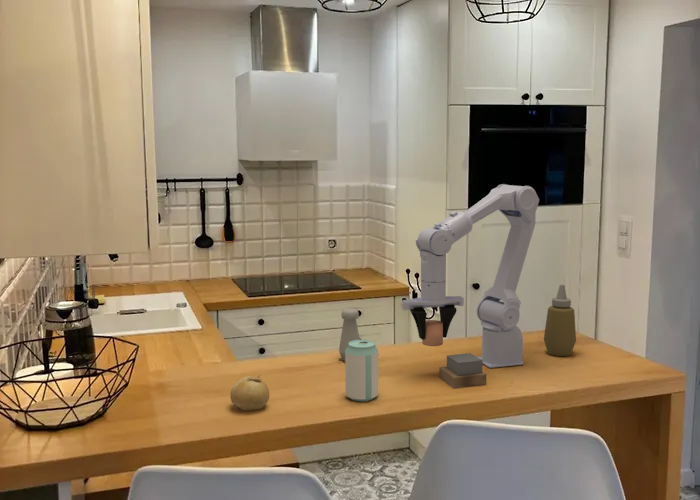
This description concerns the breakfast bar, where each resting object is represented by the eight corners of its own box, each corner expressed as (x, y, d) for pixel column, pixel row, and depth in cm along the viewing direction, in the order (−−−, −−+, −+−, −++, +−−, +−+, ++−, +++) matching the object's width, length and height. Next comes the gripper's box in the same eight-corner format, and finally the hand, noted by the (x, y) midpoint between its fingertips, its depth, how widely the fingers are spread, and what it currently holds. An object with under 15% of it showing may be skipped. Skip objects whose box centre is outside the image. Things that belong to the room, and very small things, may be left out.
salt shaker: (362, 356, 183) (362, 306, 181) (361, 363, 177) (360, 312, 175) (340, 355, 183) (339, 306, 181) (337, 362, 178) (337, 311, 176)
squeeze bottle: (579, 351, 186) (582, 284, 183) (570, 360, 179) (573, 289, 176) (548, 347, 190) (550, 280, 187) (539, 355, 183) (541, 286, 180)
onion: (233, 416, 144) (232, 382, 143) (228, 402, 151) (227, 370, 150) (272, 412, 146) (272, 378, 145) (266, 398, 154) (265, 367, 152)
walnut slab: (470, 376, 169) (470, 363, 168) (486, 387, 161) (486, 374, 161) (439, 379, 167) (439, 367, 166) (453, 390, 159) (453, 377, 159)
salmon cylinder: (437, 339, 170) (438, 319, 169) (446, 345, 166) (446, 324, 165) (419, 341, 169) (419, 320, 168) (427, 347, 164) (427, 325, 164)
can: (341, 393, 156) (340, 340, 154) (370, 389, 159) (370, 337, 157) (352, 404, 150) (352, 349, 148) (383, 400, 152) (383, 345, 150)
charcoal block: (470, 365, 167) (470, 353, 167) (482, 372, 162) (482, 360, 161) (446, 368, 166) (446, 355, 165) (458, 375, 160) (458, 362, 159)
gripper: (455, 275, 171) (454, 330, 173) (397, 279, 167) (397, 335, 169) (467, 280, 164) (466, 338, 166) (408, 284, 160) (408, 343, 162)
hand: (432, 337), depth 167 cm, fingers closed on salmon cylinder, 5 cm apart
